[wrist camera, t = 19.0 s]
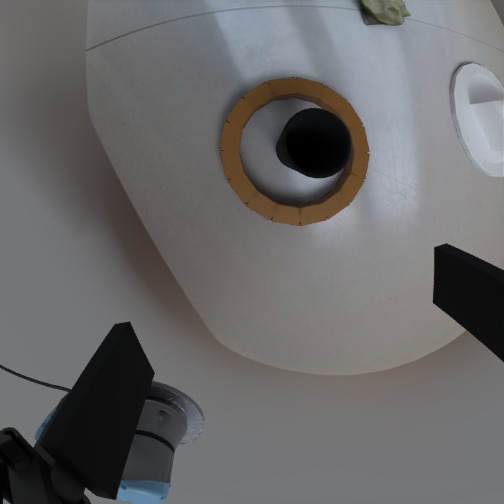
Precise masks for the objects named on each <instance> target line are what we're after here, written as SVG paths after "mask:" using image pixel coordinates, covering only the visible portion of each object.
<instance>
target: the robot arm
mask: <svg viewBox="0 0 504 504" xmlns="http://www.w3.org/2000/svg"><path fill="white" fill-rule="evenodd" d="M433 303H434V304H435V305H436V306H438V307H439V308H440V309H441V310H443V311H444V312H445V313H447V314H448V315H449V316H450V317H452V318H453V319H454V320H455V321H456V322H458V323H459V324H460V325H461V326H463V327H464V328H465V329H466V330H467V331H469V332H470V333H471V334H472V335H473V336H474V337H476V338H477V339H478V340H479V341H480V342H482V343H483V344H484V345H485V346H486V347H487V348H488V349H490V350H491V351H492V352H493V353H494V354H495V355H497V357H499V358H500V359H501V360H502V361H503V362H504V270H502V269H500V268H498V267H496V266H494V265H492V264H490V263H488V262H486V261H484V260H482V259H479V258H477V257H475V256H473V255H471V254H469V253H467V252H464V251H462V250H460V249H458V248H456V247H453V246H451V245H449V244H447V243H446V244H443V245H440V246H437V247H434V291H433ZM0 368H2V369H4V370H5V371H7V372H9V373H12V374H14V375H16V376H18V377H21V378H23V379H26V380H29V381H31V382H34V383H38V384H41V385H44V386H47V387H51V388H55V389H60V390H63V391H67V392H69V393H68V394H66V396H64V397H63V398H62V399H61V401H60V403H59V404H58V405H57V406H56V407H55V408H54V409H53V410H52V412H51V413H50V414H49V415H48V416H47V417H46V419H45V420H44V423H42V425H41V426H40V427H39V429H38V430H37V432H36V434H35V439H36V440H37V442H36V444H35V446H34V447H32V446H31V445H30V444H29V443H28V442H27V441H26V440H25V439H24V438H23V436H22V435H21V434H20V433H19V432H18V431H17V430H16V429H15V428H11V427H8V428H4V429H3V430H1V431H0V504H3V498H4V499H5V500H6V501H8V502H9V503H10V504H91V503H90V501H89V499H88V498H87V496H86V495H84V494H83V493H84V490H85V487H86V488H87V489H88V490H90V491H91V492H92V493H93V494H95V495H96V496H99V497H103V498H108V499H114V500H116V498H118V499H120V500H123V501H126V502H130V503H135V504H160V503H163V502H164V501H165V500H166V498H167V495H168V491H169V488H170V479H171V472H172V465H173V459H174V452H175V449H176V448H177V446H178V444H179V443H180V441H181V440H182V438H183V437H184V435H185V433H186V430H187V420H186V418H185V416H184V414H183V413H182V412H181V411H180V410H179V409H177V408H176V407H175V406H173V405H172V404H170V403H168V402H166V401H163V400H160V399H157V398H153V397H147V394H148V392H149V389H150V386H151V383H152V380H153V377H154V374H155V373H154V371H153V369H152V367H151V365H150V363H149V361H148V359H147V357H146V355H145V353H144V351H143V349H142V347H141V345H140V343H139V340H138V338H137V336H136V334H135V332H134V330H133V328H132V325H131V323H130V322H125V323H119V324H115V325H114V326H113V327H112V329H111V330H110V332H109V333H108V335H107V336H106V338H105V339H104V340H103V342H102V343H101V345H100V346H99V348H98V349H97V351H96V352H95V354H94V355H93V357H92V358H91V360H90V361H89V363H88V364H87V366H86V368H85V369H84V371H83V372H82V374H81V375H80V377H79V378H78V380H77V382H76V383H75V385H74V386H73V388H72V390H71V389H68V388H65V387H61V386H56V385H51V384H48V383H45V382H41V381H38V380H35V379H32V378H29V377H26V376H24V375H21V374H19V373H16V372H14V371H12V370H10V369H7V368H5V367H3V366H2V365H0Z"/></svg>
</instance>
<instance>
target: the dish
mask: <svg viewBox="0 0 504 504" xmlns="http://www.w3.org/2000/svg"><path fill="white" fill-rule="evenodd" d="M450 100H451V111H452V117H453V120H454V124H455V127H456V131H457V135H458V137H459V139H460V141H461V144H462V146H463V148H464V150H465V152H466V154H467V156H468V157H469V159H470V160H471V161H472V162H473V164H474V165H475V166H476V167H477V169H478V170H480V171H482V172H483V173H485V174H487V175H488V176H492V177H497V176H504V87H503V86H502V84H501V83H500V81H499V80H498V79H497V77H496V76H495V75H494V74H492V73H491V72H490V71H489V70H488V69H486V68H485V67H484V66H481V65H478V64H475V63H471V64H468V65H464V66H461V67H459V68H458V70H457V71H456V73H455V74H454V76H453V77H452V84H451V90H450Z"/></svg>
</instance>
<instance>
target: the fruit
mask: <svg viewBox="0 0 504 504" xmlns="http://www.w3.org/2000/svg"><path fill="white" fill-rule="evenodd" d="M359 1H360V3H361V6H362V9H363V19H364V22H365V24H366V25H375V24H385V25H392V26H395V25H401V24H402V23H403V22H404V18H403V17H405V16H410V14H409V12H408V11H407V10H406V8H405V3H404V2H403V1H402V0H359Z"/></svg>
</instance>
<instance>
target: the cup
mask: <svg viewBox="0 0 504 504" xmlns="http://www.w3.org/2000/svg"><path fill="white" fill-rule="evenodd" d="M276 152H277V156H278V158H279V160H280V161H281V162H282V163H283V164H284V165H285V166H287V167H289V168H291V169H293V170H295V171H297V172H299V173H301V174H303V175H305V176H308V177H312V178H326V177H330V176H332V175H334V174H336V173H338V172H339V171H340V170H341V169H342V168H343V167H344V166H345V164H346V163H347V161H348V159H349V156H350V153H351V139H350V134H349V132H348V130H347V127H346V126H345V125H344V123H343V122H342V120H340V119H339V118H338V117H337V116H336V115H335V114H333V113H331V112H329V111H327V110H323V109H320V108H309V109H305V110H302V111H300V112H298V113H296V114H295V115H293V116H292V117H291V118H290V119H289V121H288V122H287V124H286V125H285V127H284V129H283V131H282V134H281V136H280V138H279V140H278V143H277V146H276Z"/></svg>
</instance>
